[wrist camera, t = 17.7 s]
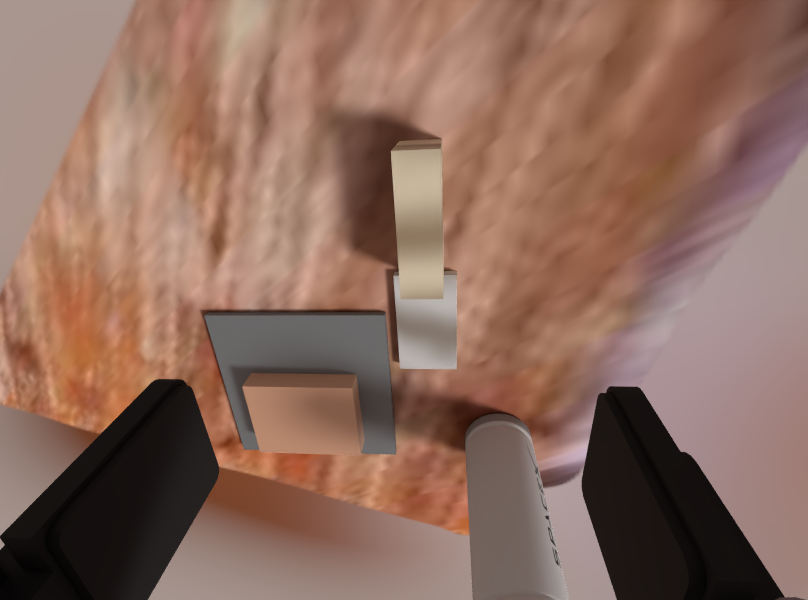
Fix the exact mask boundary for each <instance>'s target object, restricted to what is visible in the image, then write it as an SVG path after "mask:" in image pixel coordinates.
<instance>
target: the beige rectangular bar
mask: <svg viewBox="0 0 808 600" xmlns="http://www.w3.org/2000/svg"><path fill="white" fill-rule="evenodd" d="M391 161H392V176H393V191H394V206H395V221H396V236H397V252H398V267H399V272H394V275H393V277H394V291H395V305H396V319H397V332H398V346H399V360H400V369H457V271H444V240H443V172H442V139H429V140H408V141H399V142H398V143H397V144H396V145H395V147H394V148H393V149H392V150H391Z"/></svg>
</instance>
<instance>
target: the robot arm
mask: <svg viewBox="0 0 808 600" xmlns="http://www.w3.org/2000/svg"><path fill="white" fill-rule="evenodd" d="M218 474H219V466H218V462H217V459H216V456H215V454H214V451H213V448H212V445H211V442H210V439H209V436H208V433H207V430H206V427H205V424H204V421H203V418H202V416H201V413H200V410H199V407H198V404H197V401H196V398H195V395H194V392H193V390H192V388H191V387H190V386H187V385H186V383H185V382H184V381H183V380H178V379H158V380H155V381H153V382H152V383H151V384H150V385H149V386H148V387H147V388H146V389H145V390H144V391H143V392H142V393H141V394H140V395H139V396H138V397H137V398H136V399H135V400H134V401H133V402H132V403H131V404H130V405H129V406H128V407H127V408H126V409H125V410H124V411H123V412H122V413H121V414H120V415H119V416H118V417H117V418H116V419H115V420H114V421H113V422H112V423H111V424H110V425H109V426H108V427H107V428H106V429H105V430H104V431H103V432H102V433H101V434H100V435H99V436H98V437H97V438H96V439H95V441H94V442H93V443H92V444H91V445H90V446H89V447H88V448H87V449H86V450H85V451H84V452H83V453H82V454H81V455H80V456H79V457H78V458H77V459H76V460H75V461H74V462H73V463H72V464H71V465H70V466H69V467H68V468H67V469H66V470H65V471H64V472H63V473H62V474H61V475H60V476H59V477H58V478H57V479H56V480H55V481H54V482H53V483H52V484H51V485H50V486H49V487H48V488H47V489H46V490H45V491H44V492H43V493H42V494H41V495H40V496H39V497H38V498H37V499H36V500H35V501H34V502H33V503H32V504H31V505H30V506H29V507H28V508H27V509H26V510H25V511H24V512H23V514H21V516H19V517H18V519H16V521H15V522H14V523H13V524H12V525H11V526H10V527H9V528H8V529H7V530H6V531H5V532H4V533H3V534H2V535H1V536H0V538H1V540H2V541H3V543H4V544H5V546H4V547H3V548H2V549H1V550H0V600H148V598H149V597H150V595H151V593H152V591H153V590H154V588H155V586H156V584H157V583H158V581H159V579H160V578H161V576H162V574H163V572H164V571H165V569H166V567H167V566H168V564H169V562H170V560H171V558H172V557H173V555H174V553H175V551H176V550H177V548H178V547H179V545H180V543H181V541H182V540H183V538H184V536H185V534H186V533H187V531H188V529H189V528H190V526H191V524H192V522H193V521H194V519H195V517H196V516H197V514H198V512H199V510H200V509H201V507H202V505H203V503H204V502H205V500H206V498H207V497H208V495H209V493H210V491H211V490H212V488H213V486H214V484H215V483H216V481H217V478H218ZM582 492H583V497H584V500H585V503H586V506H587V509H588V512H589V515H590V518H591V522H592V524H593V528H594V531H595V534H596V537H597V540H598V543H599V546H600V549H601V552H602V555H603V558H604V561H605V564H606V567H607V570H608V573H609V576H610V579H611V583H612V585H613V589H614V592H615V595H616V598H617V600H804V599H800V598H796V597H787V598H785V597H784V595H783V594H782V592H781V591H780V589H779V588H778V586H777V585H776V583H775V582H774V580H773V579H772V577H771V575H770V574H769V573H768V571H767V569H766V568H765V566H764V565H763V563H762V562H761V560H760V559H759V557H758V556H757V554H756V553H755V551H754V550H753V548H752V547H751V545H750V544H749V542H748V540H747V539H746V537H745V536H744V534H743V533H742V531H741V530H740V528H739V527H738V525H737V524H736V522H735V520H734V519H733V517H732V516H731V515H730V513H729V511H728V510H727V508H726V507H725V505H724V504H723V503H722V501H721V499H720V498H719V496H718V495H717V493H716V491H715V490H714V488H713V487H712V485H711V484H710V482H709V481H708V479H707V478H706V476H705V475H704V473H703V472H702V470H701V468H700V467H699V465H698V464H697V463H696V461H695V460H694V459H693V458H692V457H691V455H689V454H687V453H686V452H680V450H679V449H678V447H677V445H676V444H675V442H674V441H673V439H672V437H671V436H670V434H669V433H668V431H667V429H666V428H665V426H664V425H663V423H662V422H661V420H660V418H659V417H658V415H657V414H656V412H655V411H654V409H653V407H652V406H651V404H650V403H649V401H648V400H647V398H646V396H645V395H644V393H643V392H642V390H641V389H640V388H638V387H614V386H611V387H609V388H608V389H607V392H606V393H600V394H599V395H598V399H597V404H596V409H595V414H594V419H593V424H592V430H591V435H590V440H589V445H588V450H587V456H586V461H585V466H584V471H583V476H582Z"/></svg>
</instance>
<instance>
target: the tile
mask: <svg viewBox="0 0 808 600" xmlns="http://www.w3.org/2000/svg"><path fill="white" fill-rule="evenodd" d="M242 388H243V391H244V395H245V399H246V402H247V406H248V409H249V413H250V417H251V420H252V424H253V428H254V431H255V435H256V439H257V442H258V446H259V449H260V452H274V453H303V454H332V455H361V453H362V449H363V445H364V440H365V439H364V431H363V423H362V415H361V407H360V399H359V391H358V383H357V375H356V374H294V373H251V374H250V376H249V377H248V378H247V380H246V381H245V383H244V384H243V386H242Z"/></svg>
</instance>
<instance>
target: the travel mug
mask: <svg viewBox="0 0 808 600" xmlns="http://www.w3.org/2000/svg"><path fill="white" fill-rule="evenodd" d="M465 450H466V470H467V490H468V511H469V531H470V549H471V550H470V552H471V571H472V592H473V600H569V596H568V592H567V588H566V583H565V579H564V575H563V571H562V566H561V562H560V558H559V554H558V549H557V545H556V541H555V537H554V532H553V528H552V524H551V520H550V515H549V511H548V507H547V503H546V499H545V494H544V490H543V486H542V482H541V477H540V473H539V469H538V465H537V460H536V456H535V452H534V448H533V444H532V439H531V435H530V431H529V429H528V427H527V426H526V425H525V424H524V423H523V422H522V421H521V420H519V419H517V418H516V417H514V416H511V415H507V414H489V415H485V416H482V417H480V418H478V419H477V420H475V421H474V422H473V423H472V424H471V425H470V426H469V427H468V429H467V431H466V434H465Z"/></svg>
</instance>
